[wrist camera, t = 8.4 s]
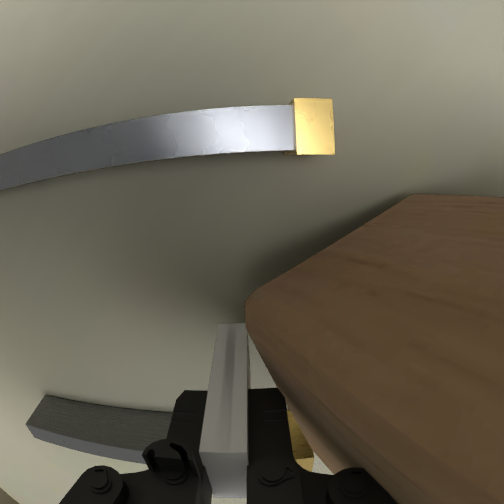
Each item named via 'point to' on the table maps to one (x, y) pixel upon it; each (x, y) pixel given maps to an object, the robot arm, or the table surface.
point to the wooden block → (398, 348)
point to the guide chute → (144, 150)
